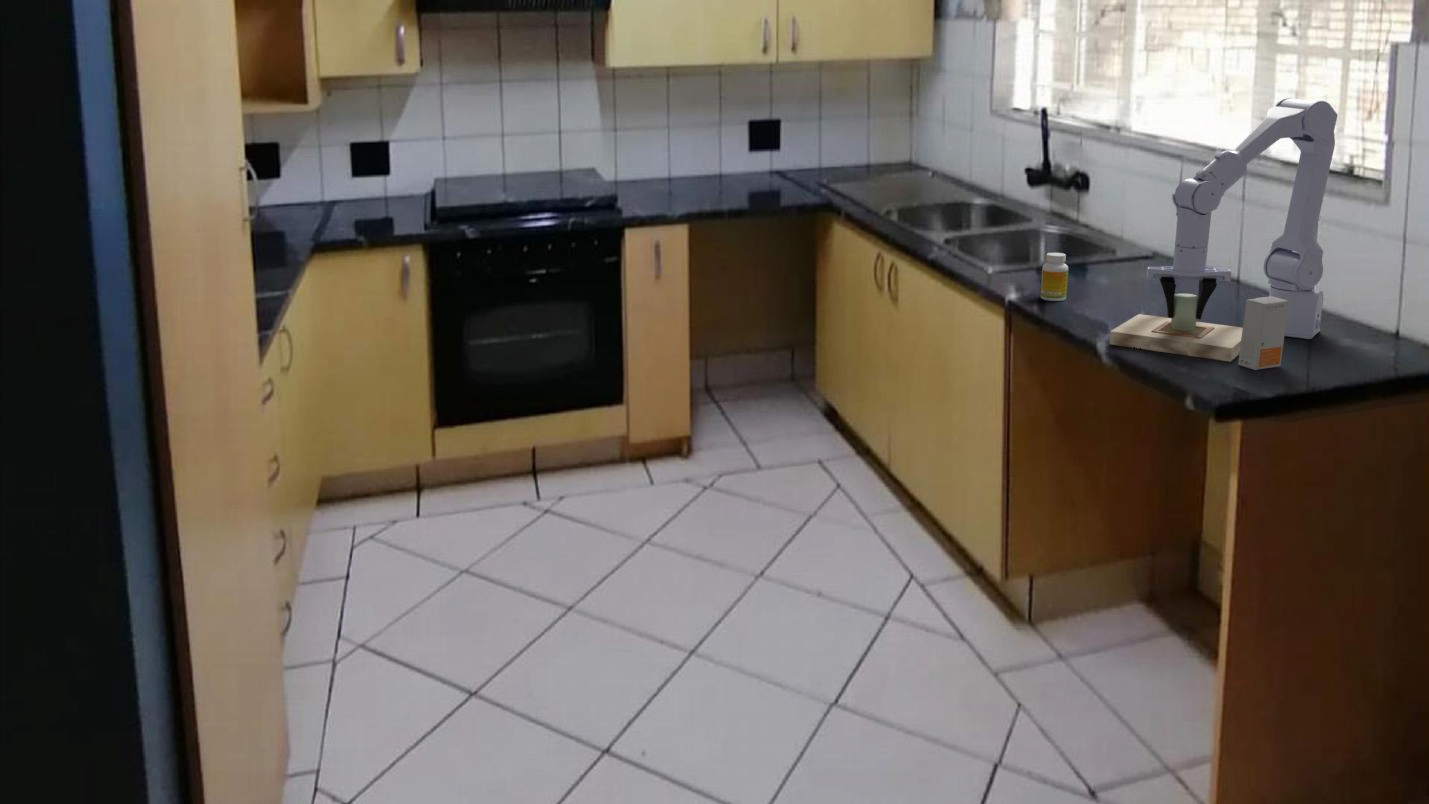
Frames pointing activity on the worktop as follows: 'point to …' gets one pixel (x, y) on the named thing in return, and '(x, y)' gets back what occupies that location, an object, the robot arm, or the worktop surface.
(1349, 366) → the worktop surface
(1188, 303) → the green peg
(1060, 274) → the supplement bottle
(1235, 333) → the hole plate
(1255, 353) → the skincare box
